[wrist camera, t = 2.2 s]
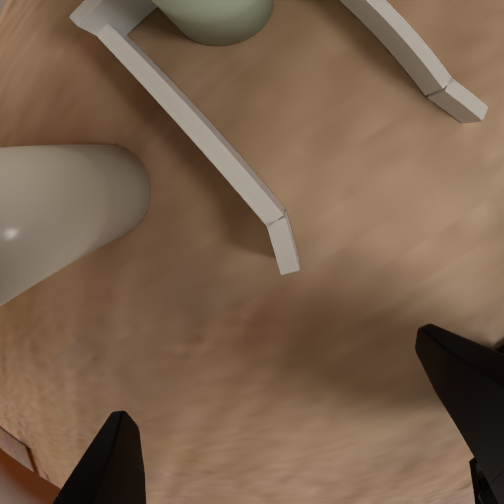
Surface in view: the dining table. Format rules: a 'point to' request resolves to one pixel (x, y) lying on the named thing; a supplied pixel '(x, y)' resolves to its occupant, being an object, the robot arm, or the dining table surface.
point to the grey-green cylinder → (217, 19)
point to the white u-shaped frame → (216, 146)
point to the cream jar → (64, 207)
